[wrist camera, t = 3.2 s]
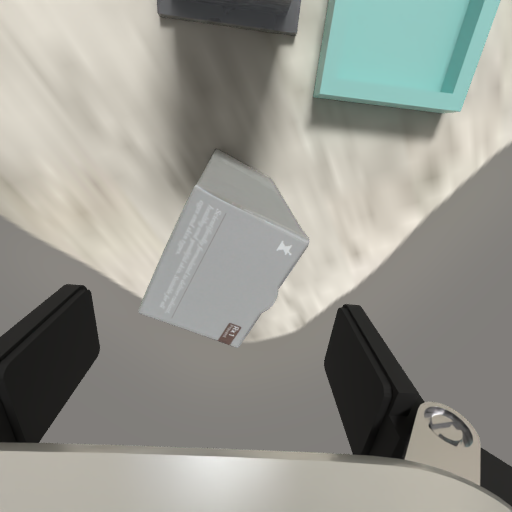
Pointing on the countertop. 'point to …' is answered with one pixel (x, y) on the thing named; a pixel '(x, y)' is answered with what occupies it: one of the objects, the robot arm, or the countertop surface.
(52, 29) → the countertop surface
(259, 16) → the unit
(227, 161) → the skincare box
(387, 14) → the tray
